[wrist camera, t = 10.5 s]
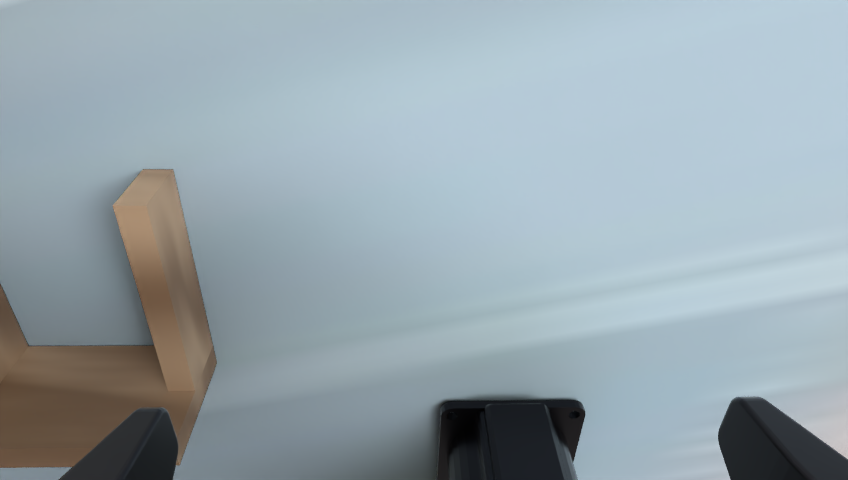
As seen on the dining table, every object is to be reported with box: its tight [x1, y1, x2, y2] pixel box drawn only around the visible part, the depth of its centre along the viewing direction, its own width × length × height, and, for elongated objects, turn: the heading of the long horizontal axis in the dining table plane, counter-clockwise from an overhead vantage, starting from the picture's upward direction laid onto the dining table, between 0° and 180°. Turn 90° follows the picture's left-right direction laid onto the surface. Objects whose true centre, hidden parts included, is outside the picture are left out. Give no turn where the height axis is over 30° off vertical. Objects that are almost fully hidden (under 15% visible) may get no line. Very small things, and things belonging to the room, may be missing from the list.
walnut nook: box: [0, 169, 217, 468], centre depth 20 cm, size 9×8×5 cm
